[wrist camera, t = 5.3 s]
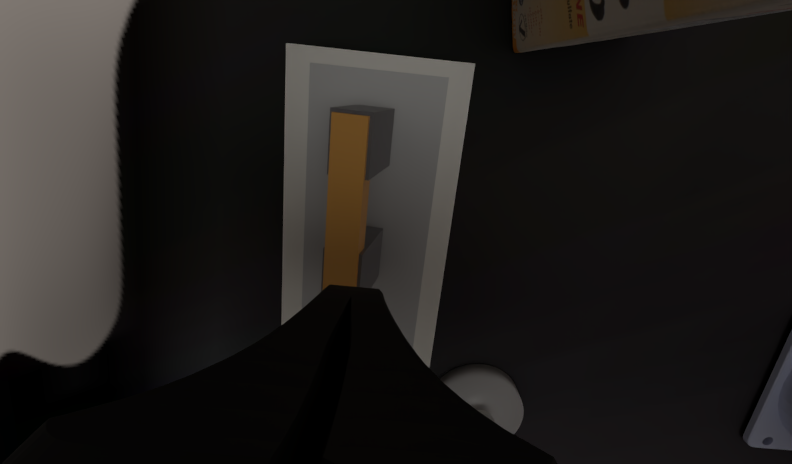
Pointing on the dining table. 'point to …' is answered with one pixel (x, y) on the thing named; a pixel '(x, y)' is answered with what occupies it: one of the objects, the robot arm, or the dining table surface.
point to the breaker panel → (391, 188)
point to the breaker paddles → (354, 193)
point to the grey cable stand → (488, 393)
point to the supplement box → (620, 18)
